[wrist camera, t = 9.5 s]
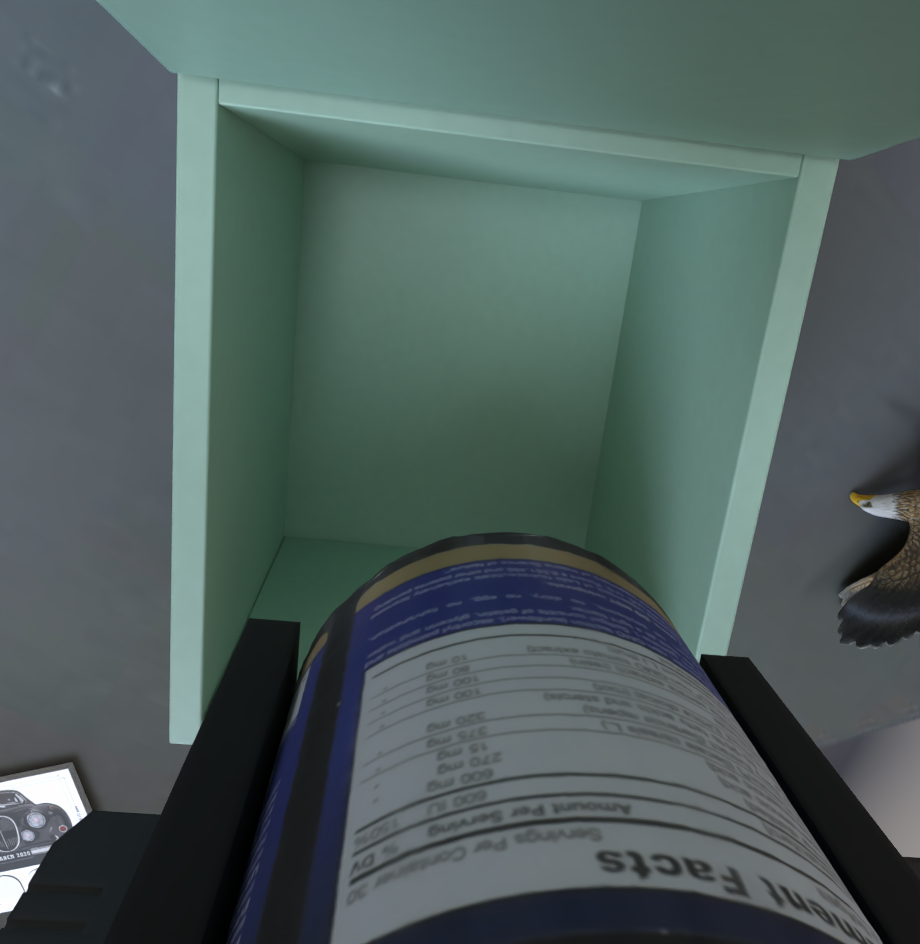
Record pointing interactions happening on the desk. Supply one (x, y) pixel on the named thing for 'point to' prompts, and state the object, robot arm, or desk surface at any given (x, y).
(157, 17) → the lid
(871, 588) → the eagle figurine
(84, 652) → the desk surface
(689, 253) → the box
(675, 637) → the pill bottle
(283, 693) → the robot arm
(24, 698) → the desk surface
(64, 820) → the car cutout
